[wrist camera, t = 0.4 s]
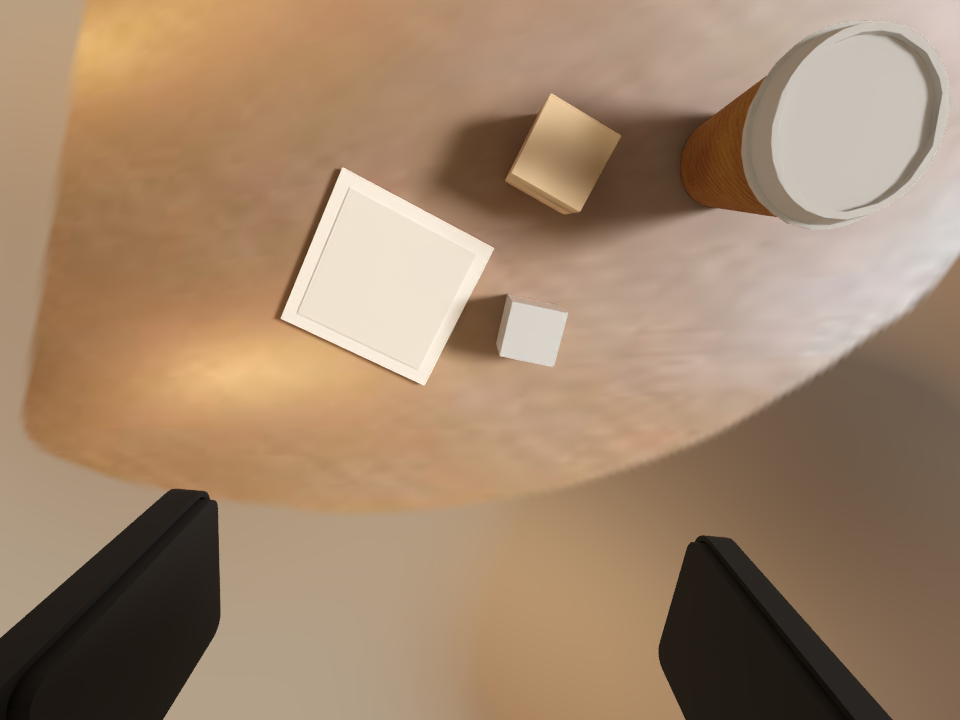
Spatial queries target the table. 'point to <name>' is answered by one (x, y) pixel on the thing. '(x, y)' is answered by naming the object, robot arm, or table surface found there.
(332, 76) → the table surface
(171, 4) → the table surface
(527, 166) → the oak cube
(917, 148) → the disposable coffee cup
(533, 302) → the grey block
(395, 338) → the tray
